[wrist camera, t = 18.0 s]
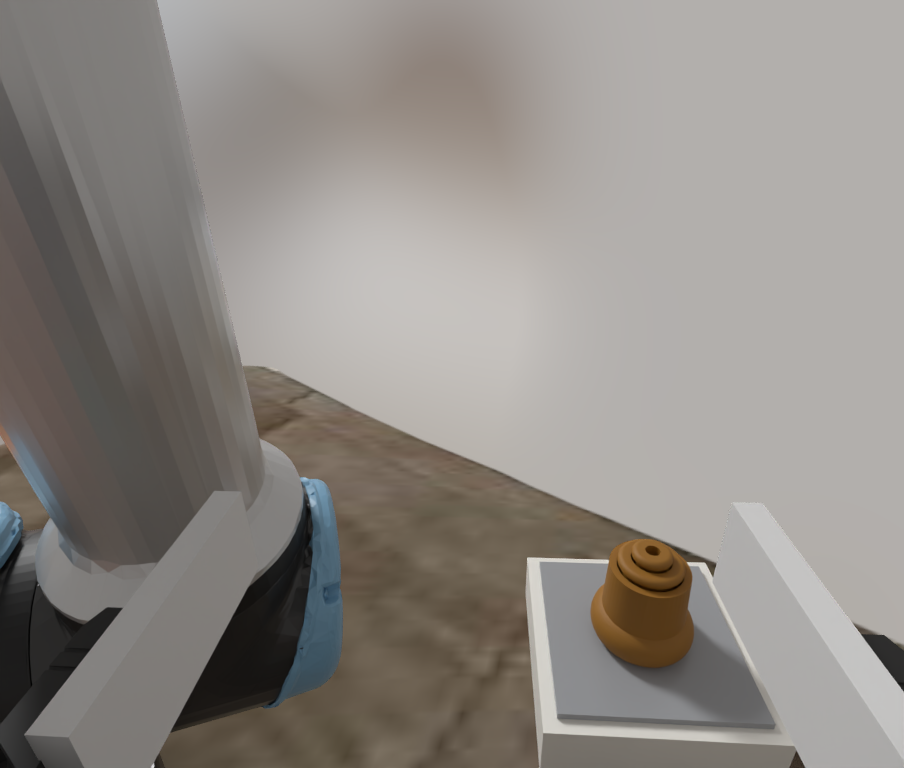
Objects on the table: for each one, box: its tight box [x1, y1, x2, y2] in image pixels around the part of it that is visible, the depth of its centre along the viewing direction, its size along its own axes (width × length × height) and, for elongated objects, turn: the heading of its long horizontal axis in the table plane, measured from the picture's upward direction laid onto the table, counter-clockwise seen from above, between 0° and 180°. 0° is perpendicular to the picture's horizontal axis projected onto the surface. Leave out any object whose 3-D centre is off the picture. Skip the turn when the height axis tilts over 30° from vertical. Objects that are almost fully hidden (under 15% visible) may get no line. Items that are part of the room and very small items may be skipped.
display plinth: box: [526, 558, 796, 768], centre depth 42 cm, size 16×16×5 cm
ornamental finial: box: [590, 539, 694, 668], centre depth 39 cm, size 8×8×8 cm
